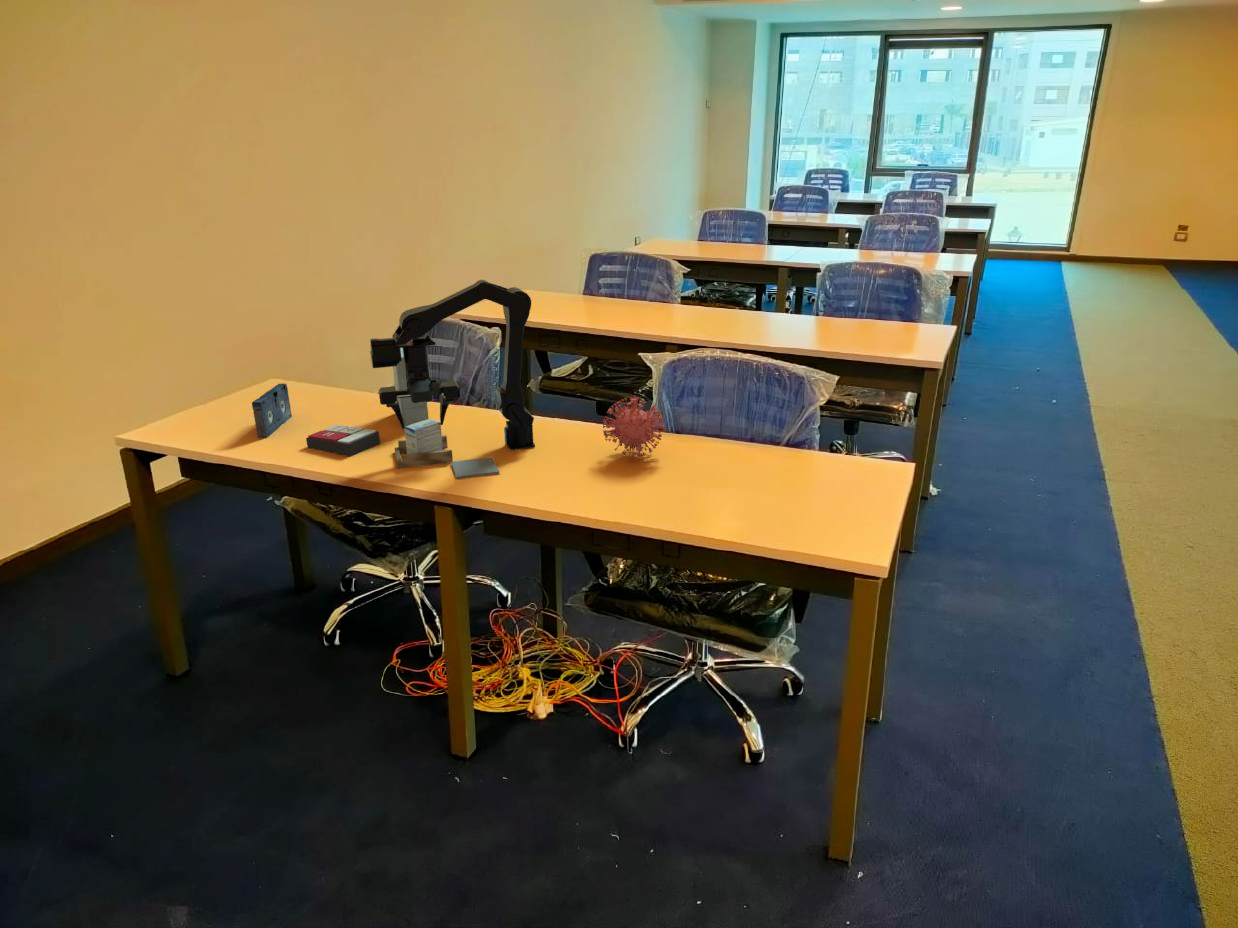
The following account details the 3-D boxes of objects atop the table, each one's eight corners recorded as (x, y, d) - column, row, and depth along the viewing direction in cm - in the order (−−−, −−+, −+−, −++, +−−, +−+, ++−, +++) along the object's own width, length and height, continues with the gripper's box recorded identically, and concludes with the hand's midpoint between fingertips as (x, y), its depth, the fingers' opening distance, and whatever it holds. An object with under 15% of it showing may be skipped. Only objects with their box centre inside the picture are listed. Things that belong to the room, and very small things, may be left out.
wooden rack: (447, 446, 220) (446, 435, 219) (452, 462, 209) (451, 450, 208) (395, 452, 216) (393, 440, 215) (398, 468, 205) (396, 456, 204)
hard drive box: (397, 412, 247) (390, 344, 240) (424, 409, 249) (418, 342, 242) (401, 428, 233) (393, 357, 226) (430, 425, 235) (423, 354, 228)
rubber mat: (492, 459, 211) (492, 457, 210) (499, 473, 202) (499, 471, 202) (451, 464, 208) (451, 461, 208) (456, 478, 199) (456, 476, 199)
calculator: (336, 423, 228) (378, 428, 221) (339, 438, 229) (381, 444, 222) (304, 435, 219) (347, 441, 212) (307, 451, 220) (350, 457, 213)
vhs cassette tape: (283, 416, 244) (278, 383, 241) (294, 416, 244) (288, 383, 241) (255, 438, 227) (249, 402, 224) (266, 438, 227) (260, 402, 223)
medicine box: (432, 450, 217) (429, 418, 214) (443, 454, 214) (441, 421, 211) (406, 459, 211) (403, 426, 208) (418, 463, 209) (415, 430, 205)
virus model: (591, 456, 212) (590, 398, 206) (633, 441, 222) (632, 386, 216) (634, 471, 202) (634, 411, 197) (676, 455, 212) (677, 397, 206)
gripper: (377, 376, 194) (385, 441, 200) (460, 369, 200) (465, 432, 205) (375, 364, 204) (382, 426, 210) (454, 358, 209) (459, 418, 215)
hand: (422, 426), depth 210 cm, fingers open, 9 cm apart
